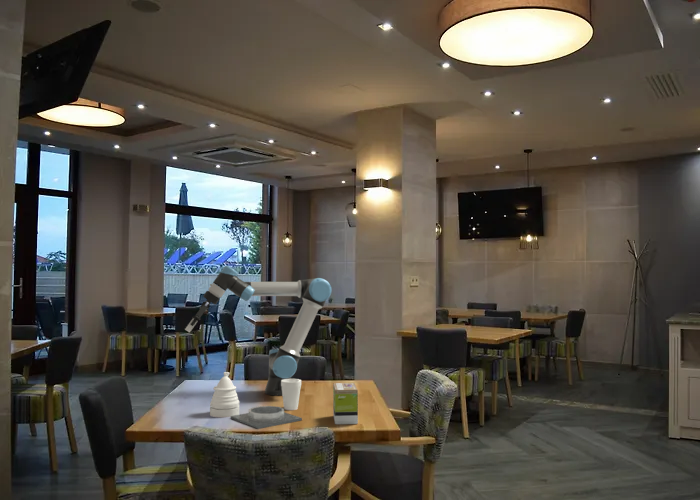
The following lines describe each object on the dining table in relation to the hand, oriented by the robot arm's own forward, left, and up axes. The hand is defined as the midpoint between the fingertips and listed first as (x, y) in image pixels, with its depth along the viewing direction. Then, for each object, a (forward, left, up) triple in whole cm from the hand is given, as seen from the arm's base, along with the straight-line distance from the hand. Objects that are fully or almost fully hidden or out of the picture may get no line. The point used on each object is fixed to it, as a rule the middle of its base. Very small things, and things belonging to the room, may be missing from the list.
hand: (187, 330), depth 278 cm
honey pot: (-3, +32, -35) cm, 48 cm away
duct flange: (-12, +52, -35) cm, 64 cm away
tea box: (-38, +74, -35) cm, 90 cm away
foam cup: (-32, +42, -35) cm, 64 cm away
